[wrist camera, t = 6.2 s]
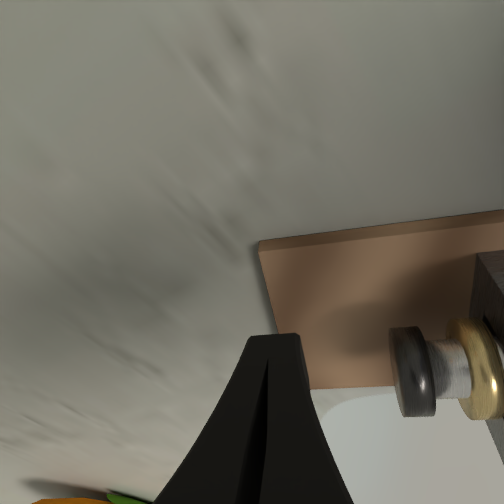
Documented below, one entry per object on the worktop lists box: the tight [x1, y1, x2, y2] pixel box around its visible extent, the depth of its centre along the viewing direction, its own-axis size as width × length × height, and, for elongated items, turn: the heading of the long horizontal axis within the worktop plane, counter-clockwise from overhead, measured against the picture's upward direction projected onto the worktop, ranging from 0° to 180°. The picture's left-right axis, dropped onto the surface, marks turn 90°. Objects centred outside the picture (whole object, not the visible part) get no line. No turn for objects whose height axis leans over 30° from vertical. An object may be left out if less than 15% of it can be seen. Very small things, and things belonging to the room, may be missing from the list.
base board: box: [258, 210, 504, 390], centre depth 21 cm, size 16×11×1 cm, turn 102°
